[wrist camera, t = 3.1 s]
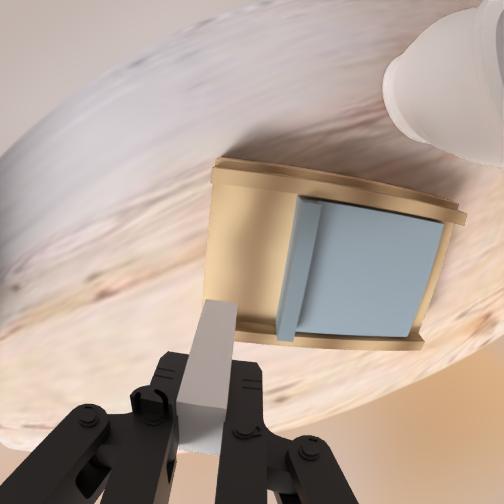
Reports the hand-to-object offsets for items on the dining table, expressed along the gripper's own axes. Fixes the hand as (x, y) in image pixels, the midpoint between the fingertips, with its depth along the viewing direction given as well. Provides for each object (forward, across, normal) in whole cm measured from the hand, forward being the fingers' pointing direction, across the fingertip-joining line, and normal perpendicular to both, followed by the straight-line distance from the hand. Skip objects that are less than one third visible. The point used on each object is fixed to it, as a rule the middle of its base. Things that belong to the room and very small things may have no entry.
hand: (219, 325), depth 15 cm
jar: (+13, +14, +16) cm, 25 cm away
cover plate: (+10, +10, 0) cm, 14 cm away
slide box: (+13, +8, 0) cm, 15 cm away
